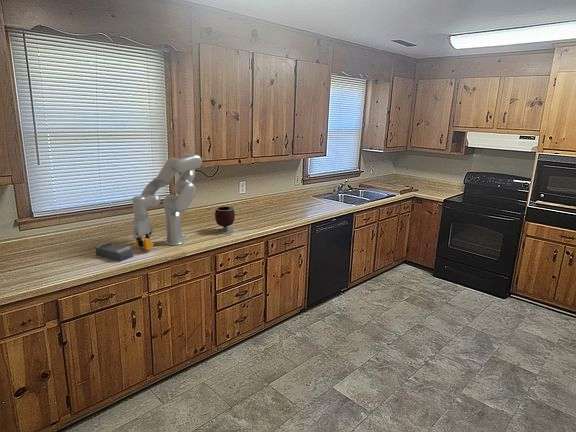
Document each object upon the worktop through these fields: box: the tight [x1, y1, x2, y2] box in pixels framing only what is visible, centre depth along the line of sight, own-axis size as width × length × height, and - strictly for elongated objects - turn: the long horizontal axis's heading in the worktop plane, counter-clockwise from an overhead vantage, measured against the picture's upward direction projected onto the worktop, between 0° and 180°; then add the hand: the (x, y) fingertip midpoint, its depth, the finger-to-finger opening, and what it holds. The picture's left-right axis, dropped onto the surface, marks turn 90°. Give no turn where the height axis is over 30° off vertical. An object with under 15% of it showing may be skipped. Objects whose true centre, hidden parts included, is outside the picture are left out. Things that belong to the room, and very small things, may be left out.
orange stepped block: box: [135, 237, 154, 251], centre depth 238 cm, size 12×4×6 cm, turn 49°
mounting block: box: [94, 241, 134, 263], centre depth 228 cm, size 9×20×6 cm, turn 64°
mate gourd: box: [214, 203, 237, 235], centre depth 279 cm, size 16×14×20 cm
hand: (144, 244), depth 239 cm, fingers closed on orange stepped block, 4 cm apart
